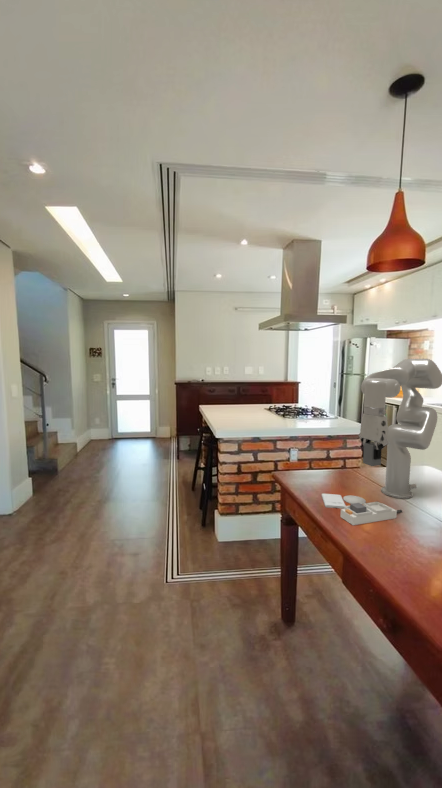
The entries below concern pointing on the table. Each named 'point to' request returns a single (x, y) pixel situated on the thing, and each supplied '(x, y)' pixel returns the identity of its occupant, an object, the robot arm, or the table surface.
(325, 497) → the external hard drive
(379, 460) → the charger
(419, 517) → the table surface
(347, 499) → the coaster
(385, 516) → the power strip
